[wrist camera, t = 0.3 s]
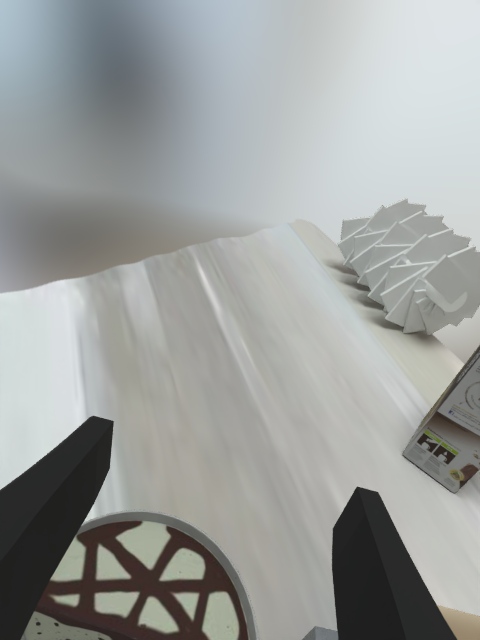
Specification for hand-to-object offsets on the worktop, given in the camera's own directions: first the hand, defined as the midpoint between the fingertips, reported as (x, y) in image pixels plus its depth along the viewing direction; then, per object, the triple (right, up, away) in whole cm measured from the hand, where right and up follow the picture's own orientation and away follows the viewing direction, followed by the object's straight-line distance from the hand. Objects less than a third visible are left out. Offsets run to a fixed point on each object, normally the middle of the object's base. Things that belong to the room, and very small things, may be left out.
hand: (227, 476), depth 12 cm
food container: (-6, -15, +13) cm, 21 cm away
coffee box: (+23, -11, +34) cm, 43 cm away
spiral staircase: (+27, +7, +63) cm, 69 cm away
